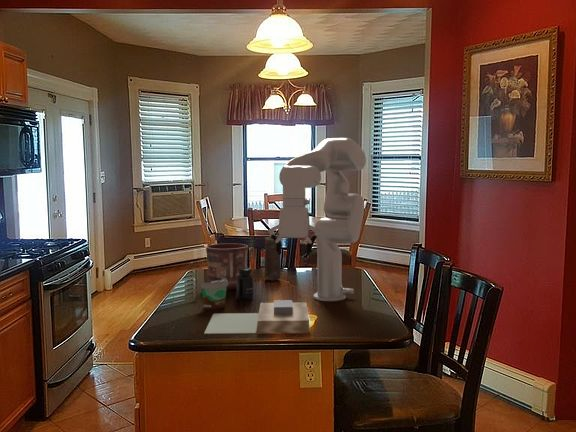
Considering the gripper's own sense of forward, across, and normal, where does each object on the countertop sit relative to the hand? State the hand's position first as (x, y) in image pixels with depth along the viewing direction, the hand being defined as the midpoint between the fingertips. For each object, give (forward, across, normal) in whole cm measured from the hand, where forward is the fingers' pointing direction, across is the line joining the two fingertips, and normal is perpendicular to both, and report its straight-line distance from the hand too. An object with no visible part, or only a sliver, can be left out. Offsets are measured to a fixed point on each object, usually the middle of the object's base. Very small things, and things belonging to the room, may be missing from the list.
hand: (294, 254), depth 177 cm
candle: (+22, +19, -60) cm, 66 cm away
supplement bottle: (+22, +23, -25) cm, 41 cm away
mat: (+22, +19, +7) cm, 30 cm away
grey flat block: (+18, +3, +5) cm, 19 cm away
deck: (+22, +3, +5) cm, 23 cm away
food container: (+22, +30, -12) cm, 39 cm away
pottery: (+22, +36, -45) cm, 61 cm away
